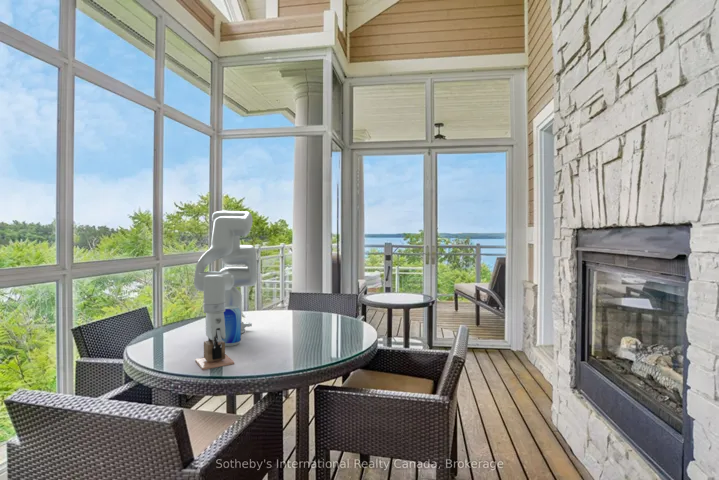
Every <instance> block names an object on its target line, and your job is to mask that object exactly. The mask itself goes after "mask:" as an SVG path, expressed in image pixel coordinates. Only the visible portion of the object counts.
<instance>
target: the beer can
mask: <svg viewBox="0 0 719 480" xmlns="http://www.w3.org/2000/svg"><path fill="white" fill-rule="evenodd" d="M224 318H225V339H222V341H224V342H225V347H233V346H237V345H239V344H240V342H241V340H242V333H241V311H240V310H239V308H238V306H225V312H224Z"/></svg>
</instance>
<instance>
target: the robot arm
mask: <svg viewBox="0 0 719 480" xmlns="http://www.w3.org/2000/svg"><path fill="white" fill-rule="evenodd" d="M211 221H212V223H213V227H212V235H211V242H210V248H209V249H208V250H206V251H205V252H204V253H203V254H202V255H201V256H200V258H199V259H198V261H197V263H196V265H195V271H194V277H193V278H194V281H193V284H194V288H195V289H196V291H199V292H203V313H204V314H205V335H206V337H207V341H210V340H212V341H213V348H212V359H213V360H214V359H220V358H222V339H225V318H224V312H225V306H238V308H239V310H240V311H241V334H244V333H245V332H246V328H249V327H252V325H253V323H252V322H243V321H242V319H243V316H242V314H243V312H242V311H243V306H242V305H243V302H242V300H243V297H242V296H243V295H242V292H241V291H240V290H239V289H238V288H237V287H239V288H240V287H253V286H255V285H256V284H257V281H258V266H257V265H258V262H257V261H258V259H257V258H258V257H257V250H256V248H255V247H254V245H252V244H241V241H240V239H241V238H240V237H247V236H248V235H249V234H250V232H251V229H252V226H253V222H254V221H253V215H252V213H251V212H249V211H243V210H242V211H240V210H219V211H215V212H213V213H212V216H211ZM220 259H221V261H222V263H223V264H224V265H228V266H227V267H223V268H221V269H220V270H219V271H206V268H207V267H208V266H209V265H210V264H212V263H214V261H217V260H220ZM215 341H217V342H216V344H215Z"/></svg>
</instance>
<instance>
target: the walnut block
mask: <svg viewBox="0 0 719 480" xmlns="http://www.w3.org/2000/svg"><path fill="white" fill-rule="evenodd" d="M216 342H217V341H215V344H216ZM212 348H213V341H212V340H210V341H208V340H205V341H203V358H205V359H206V360H207V362H211V361H216V360H222V359H225V354H226V346H225V342H224V341H222V358H220V359H214V360H213V359H212Z"/></svg>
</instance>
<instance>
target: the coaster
mask: <svg viewBox="0 0 719 480" xmlns="http://www.w3.org/2000/svg"><path fill="white" fill-rule="evenodd" d="M195 363H196V364H197V365H198V367H199V368H200V370H203V371H204V370H209V369H214V368H219V367H225V366H226V367H227V366H229V365H235V361H234V360H233V359H232V358H231V357H230V356H228V355H227V354H226V353H225V359H222V360H216V361H211V362H207V360H206V359H205V358H204V357H199V358H195Z"/></svg>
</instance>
